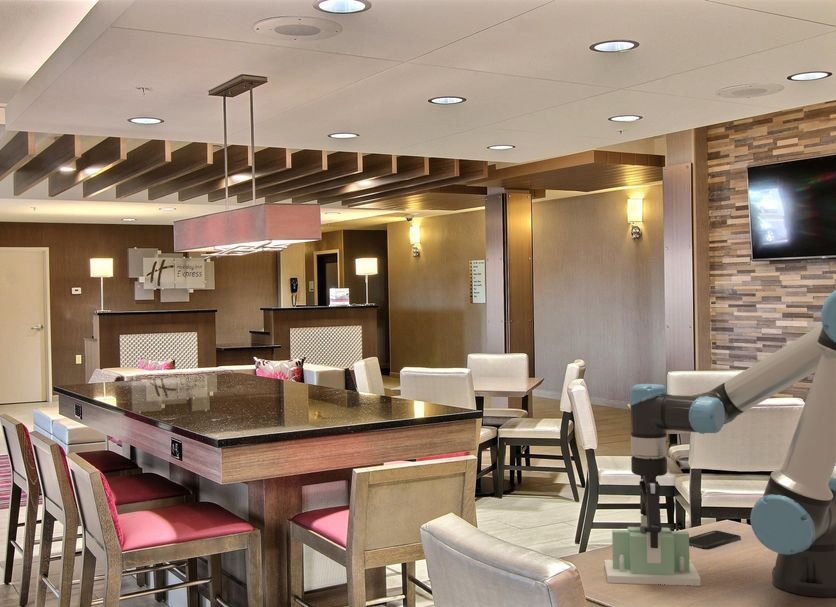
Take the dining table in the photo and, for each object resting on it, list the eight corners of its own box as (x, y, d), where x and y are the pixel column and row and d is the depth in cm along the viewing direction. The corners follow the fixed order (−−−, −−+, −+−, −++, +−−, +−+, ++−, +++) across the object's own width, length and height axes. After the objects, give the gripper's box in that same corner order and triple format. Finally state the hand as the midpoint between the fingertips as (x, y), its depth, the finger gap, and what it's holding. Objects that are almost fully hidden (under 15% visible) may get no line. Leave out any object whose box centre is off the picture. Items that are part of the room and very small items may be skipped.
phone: (679, 540, 217) (715, 529, 226) (679, 544, 217) (715, 534, 226) (707, 547, 211) (743, 536, 220) (707, 551, 211) (743, 540, 220)
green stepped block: (686, 564, 194) (685, 524, 194) (691, 575, 187) (691, 533, 187) (611, 562, 197) (611, 522, 197) (614, 573, 189) (613, 532, 189)
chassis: (692, 568, 196) (691, 546, 196) (700, 585, 184) (700, 562, 184) (604, 566, 199) (604, 543, 199) (607, 582, 187) (607, 559, 187)
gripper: (674, 466, 179) (676, 571, 179) (660, 446, 204) (661, 538, 203) (636, 465, 180) (637, 570, 180) (626, 446, 205) (628, 537, 205)
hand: (650, 553), depth 192 cm, fingers open, 13 cm apart
